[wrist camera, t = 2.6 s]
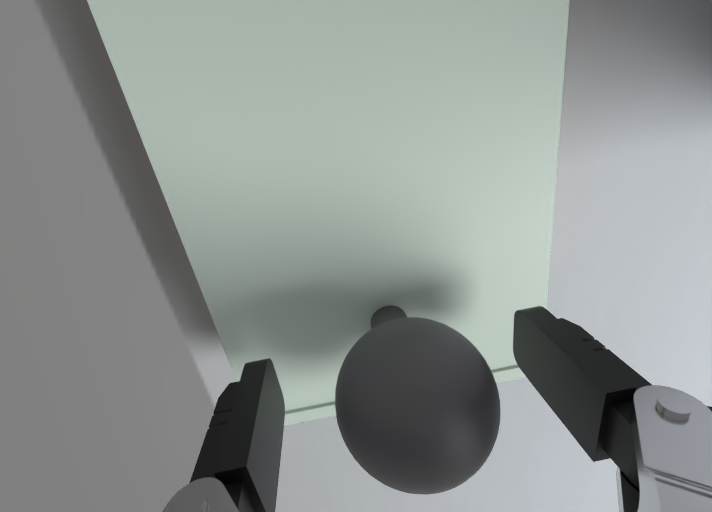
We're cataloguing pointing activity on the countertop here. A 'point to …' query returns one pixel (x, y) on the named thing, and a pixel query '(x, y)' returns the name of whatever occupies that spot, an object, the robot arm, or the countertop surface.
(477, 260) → the lid
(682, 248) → the countertop surface
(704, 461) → the robot arm
